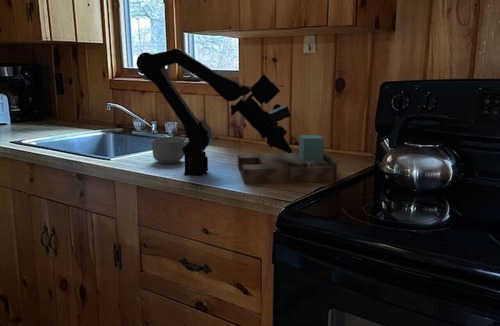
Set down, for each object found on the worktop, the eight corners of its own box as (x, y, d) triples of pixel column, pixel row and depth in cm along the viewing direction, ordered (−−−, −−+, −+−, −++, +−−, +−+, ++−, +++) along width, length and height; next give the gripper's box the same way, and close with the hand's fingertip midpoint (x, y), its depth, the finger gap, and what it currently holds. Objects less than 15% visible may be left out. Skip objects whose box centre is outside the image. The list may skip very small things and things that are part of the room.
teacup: (183, 165, 150) (182, 141, 149) (149, 165, 150) (148, 141, 148) (186, 157, 164) (186, 134, 162) (155, 157, 163) (154, 134, 162)
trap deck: (244, 183, 128) (244, 164, 127) (237, 166, 150) (237, 149, 148) (336, 181, 131) (337, 162, 130) (316, 164, 152) (317, 148, 151)
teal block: (303, 162, 137) (303, 138, 136) (298, 157, 143) (299, 135, 141) (323, 161, 138) (324, 138, 136) (318, 157, 144) (318, 135, 142)
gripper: (280, 98, 126) (318, 138, 129) (270, 93, 144) (303, 128, 148) (250, 126, 127) (289, 166, 130) (244, 118, 145) (278, 153, 148)
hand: (290, 152), depth 139 cm, fingers closed
